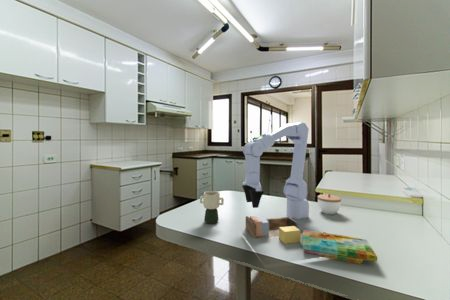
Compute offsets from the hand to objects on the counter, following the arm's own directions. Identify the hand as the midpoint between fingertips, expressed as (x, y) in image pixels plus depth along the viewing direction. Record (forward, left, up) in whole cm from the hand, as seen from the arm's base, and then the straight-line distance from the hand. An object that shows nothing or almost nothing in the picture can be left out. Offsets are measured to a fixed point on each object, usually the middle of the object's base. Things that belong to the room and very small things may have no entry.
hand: (252, 204), depth 89 cm
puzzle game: (-20, +24, -10) cm, 33 cm away
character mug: (+15, -10, -10) cm, 21 cm away
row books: (0, +6, -9) cm, 11 cm away
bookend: (-16, +7, -9) cm, 19 cm away
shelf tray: (-7, +6, -10) cm, 14 cm away
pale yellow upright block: (-9, +15, -10) cm, 20 cm away
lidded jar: (-45, -10, -10) cm, 47 cm away
